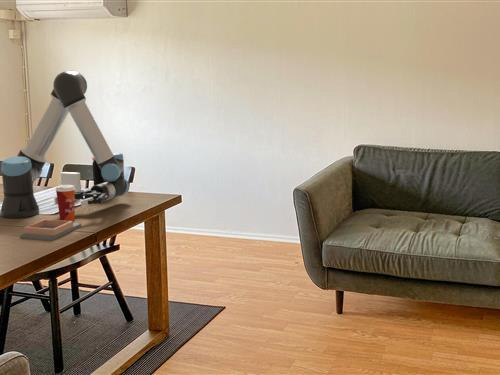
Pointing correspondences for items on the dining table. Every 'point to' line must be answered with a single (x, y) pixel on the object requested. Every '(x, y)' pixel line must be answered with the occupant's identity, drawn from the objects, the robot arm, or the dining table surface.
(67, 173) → the cylinder with rectangular tab
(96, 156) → the robot arm
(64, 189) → the paper cup
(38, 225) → the cup stand
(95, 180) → the coffee jar
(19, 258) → the dining table surface
